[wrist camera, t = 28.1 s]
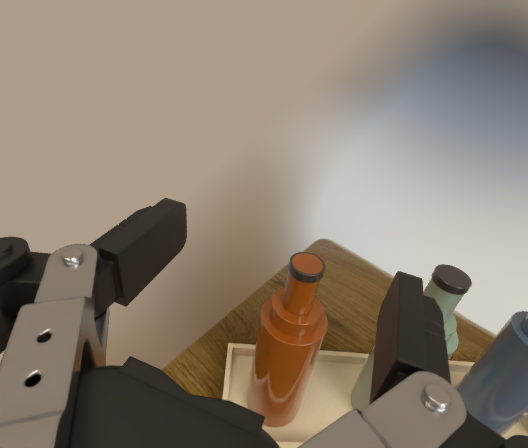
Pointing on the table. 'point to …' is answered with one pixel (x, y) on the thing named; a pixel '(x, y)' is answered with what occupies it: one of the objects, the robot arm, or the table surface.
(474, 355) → the table surface
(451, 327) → the grey-green bottle
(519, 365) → the slate-blue bottle
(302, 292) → the amber bottle
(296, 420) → the tray
